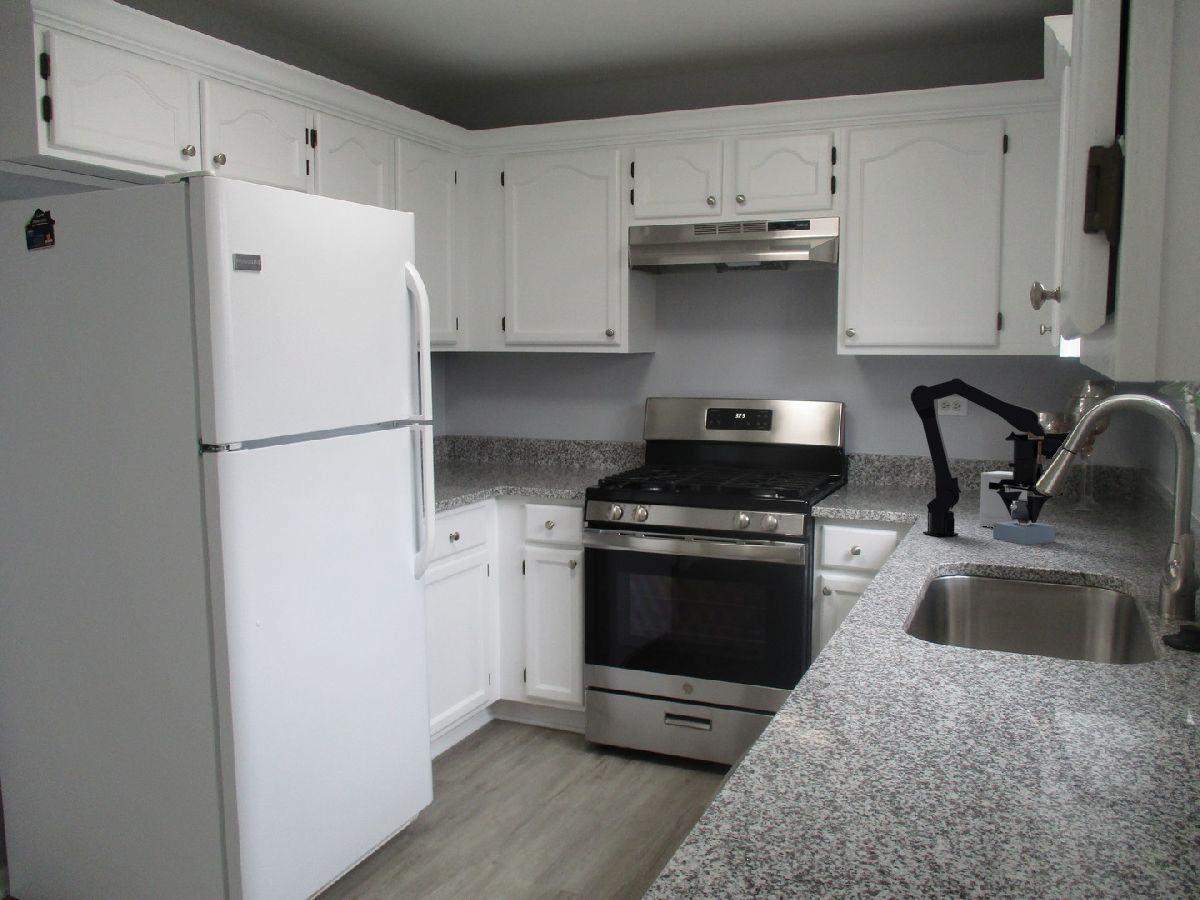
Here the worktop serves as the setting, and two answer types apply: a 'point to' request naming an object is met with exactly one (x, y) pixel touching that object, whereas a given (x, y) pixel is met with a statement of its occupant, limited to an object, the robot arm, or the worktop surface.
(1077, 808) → the worktop surface
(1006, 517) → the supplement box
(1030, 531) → the block
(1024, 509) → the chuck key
